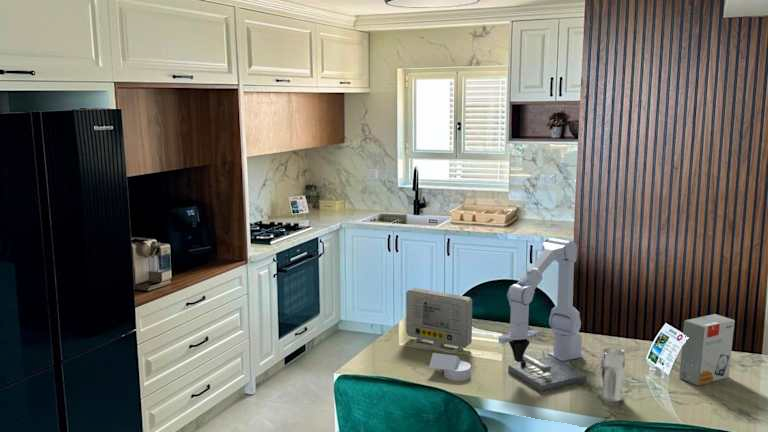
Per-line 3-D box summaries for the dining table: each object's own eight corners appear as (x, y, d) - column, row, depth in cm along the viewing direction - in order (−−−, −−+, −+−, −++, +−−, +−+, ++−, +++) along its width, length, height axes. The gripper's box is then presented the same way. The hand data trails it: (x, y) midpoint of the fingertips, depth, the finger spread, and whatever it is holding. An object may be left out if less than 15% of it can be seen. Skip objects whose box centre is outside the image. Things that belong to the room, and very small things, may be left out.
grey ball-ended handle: (518, 358, 226) (518, 352, 226) (524, 356, 227) (524, 351, 227) (544, 372, 214) (544, 367, 213) (550, 371, 215) (550, 366, 214)
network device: (474, 348, 247) (475, 296, 244) (463, 355, 240) (464, 302, 237) (414, 335, 261) (414, 285, 257) (402, 342, 254) (402, 291, 250)
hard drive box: (698, 387, 213) (703, 327, 210) (678, 378, 220) (682, 320, 216) (730, 377, 220) (735, 319, 217) (709, 369, 227) (714, 312, 223)
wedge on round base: (428, 376, 222) (467, 382, 218) (429, 357, 221) (467, 362, 217) (436, 366, 231) (473, 371, 226) (436, 348, 230) (473, 352, 225)
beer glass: (595, 393, 209) (598, 347, 206) (617, 392, 210) (620, 346, 207) (605, 403, 202) (607, 356, 200) (627, 402, 203) (630, 355, 200)
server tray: (550, 362, 233) (551, 351, 232) (586, 382, 217) (587, 370, 216) (508, 372, 226) (508, 360, 225) (542, 392, 210) (542, 380, 209)
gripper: (529, 314, 223) (528, 353, 225) (493, 320, 217) (492, 360, 219) (543, 320, 217) (541, 360, 219) (506, 327, 211) (505, 367, 213)
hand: (518, 360), depth 219 cm, fingers closed
